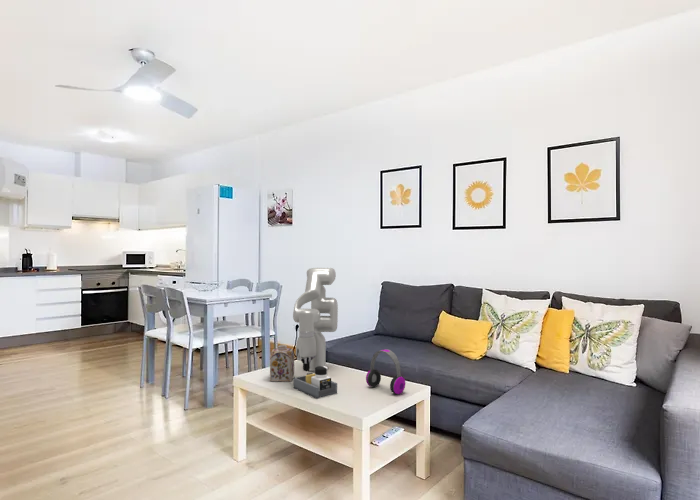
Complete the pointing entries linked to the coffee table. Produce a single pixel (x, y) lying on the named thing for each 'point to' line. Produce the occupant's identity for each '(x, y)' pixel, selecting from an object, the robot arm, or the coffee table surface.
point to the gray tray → (313, 388)
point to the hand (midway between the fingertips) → (306, 370)
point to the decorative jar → (282, 364)
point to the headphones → (375, 377)
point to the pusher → (309, 377)
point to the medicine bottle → (321, 378)
